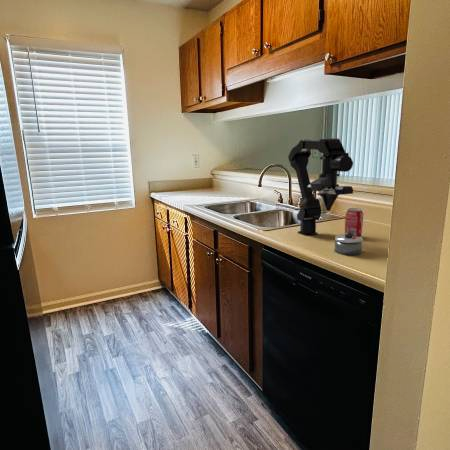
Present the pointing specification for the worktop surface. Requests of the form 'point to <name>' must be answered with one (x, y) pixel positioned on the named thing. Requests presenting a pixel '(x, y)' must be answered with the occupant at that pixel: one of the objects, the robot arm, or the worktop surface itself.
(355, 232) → the soda can
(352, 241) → the cooker lid
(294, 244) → the worktop surface
